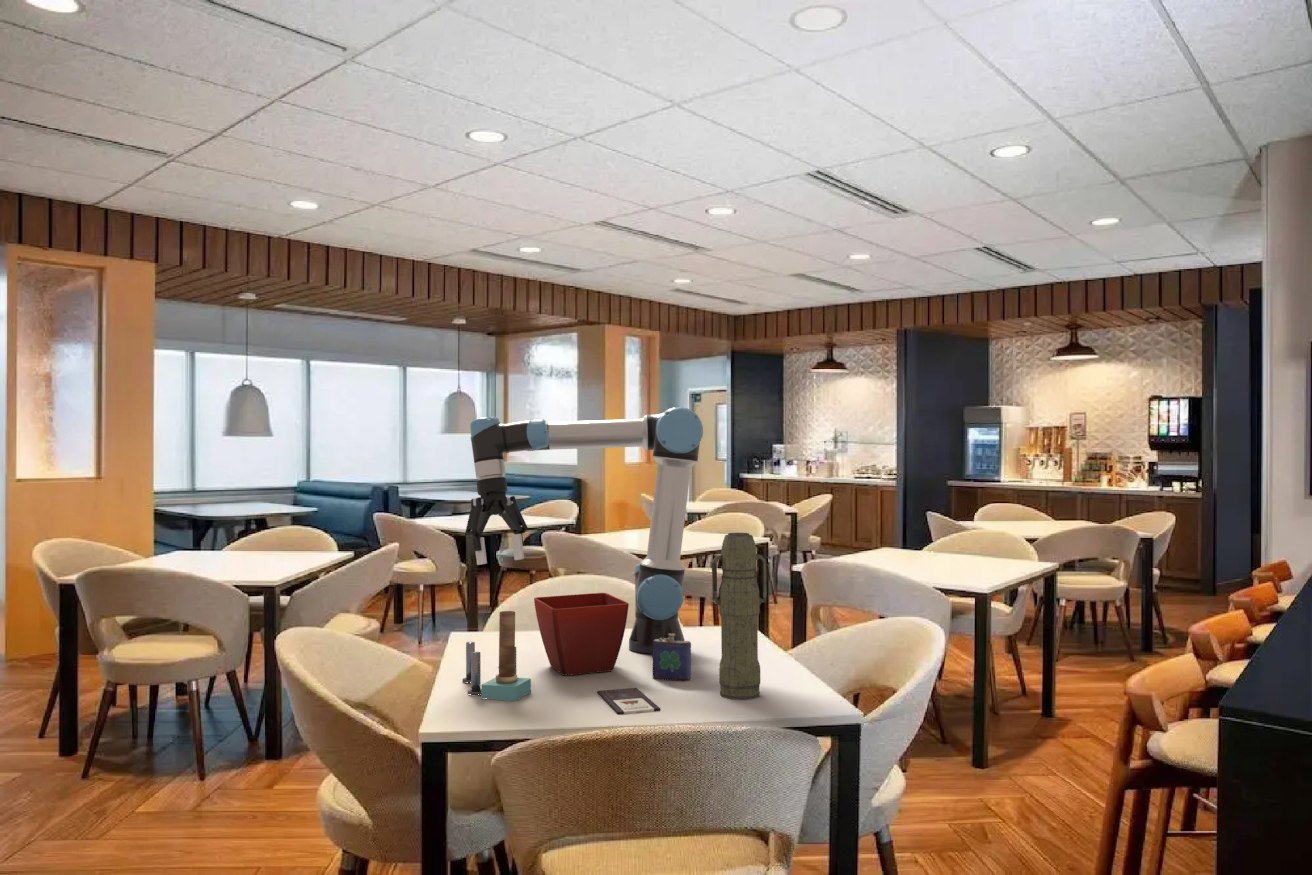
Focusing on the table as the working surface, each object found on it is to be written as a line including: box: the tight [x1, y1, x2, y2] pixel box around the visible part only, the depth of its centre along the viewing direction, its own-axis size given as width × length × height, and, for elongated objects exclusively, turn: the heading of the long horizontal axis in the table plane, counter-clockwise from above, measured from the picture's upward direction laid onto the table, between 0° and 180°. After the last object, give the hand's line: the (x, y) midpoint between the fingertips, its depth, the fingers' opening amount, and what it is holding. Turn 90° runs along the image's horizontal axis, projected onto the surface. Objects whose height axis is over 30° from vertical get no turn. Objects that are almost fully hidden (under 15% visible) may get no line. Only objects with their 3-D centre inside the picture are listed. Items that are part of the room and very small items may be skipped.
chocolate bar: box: [596, 687, 661, 715], centre depth 201 cm, size 9×1×18 cm
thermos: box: [711, 532, 768, 701], centre depth 207 cm, size 9×12×35 cm
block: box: [480, 676, 532, 702], centre depth 207 cm, size 8×8×3 cm
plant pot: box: [533, 592, 630, 677], centre depth 232 cm, size 19×19×17 cm
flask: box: [652, 633, 692, 682], centre depth 221 cm, size 9×3×11 cm, turn 74°
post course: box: [462, 641, 517, 696], centre depth 213 cm, size 15×14×9 cm
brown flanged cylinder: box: [495, 610, 518, 684], centre depth 207 cm, size 5×5×15 cm
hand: (501, 562), depth 238 cm, fingers open, 13 cm apart
